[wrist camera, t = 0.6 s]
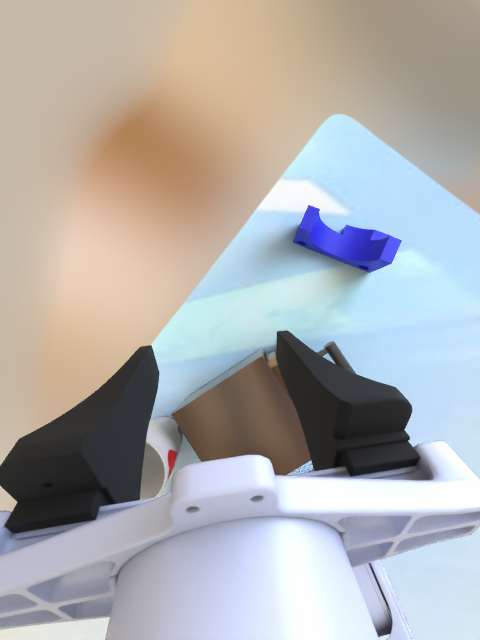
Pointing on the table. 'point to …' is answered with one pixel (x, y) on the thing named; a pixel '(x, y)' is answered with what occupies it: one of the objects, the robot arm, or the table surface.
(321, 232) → the cable clip
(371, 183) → the table surface
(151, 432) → the cup
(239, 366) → the cabinet
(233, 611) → the robot arm
